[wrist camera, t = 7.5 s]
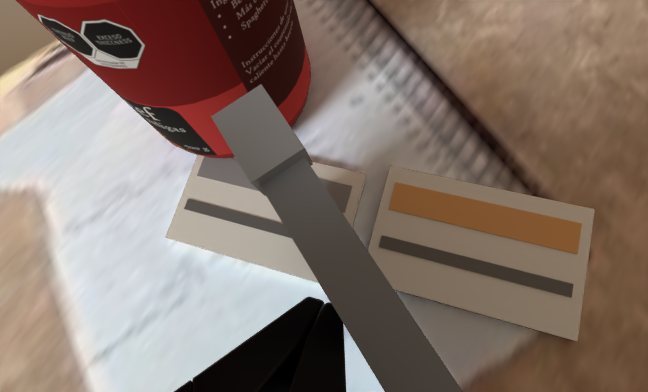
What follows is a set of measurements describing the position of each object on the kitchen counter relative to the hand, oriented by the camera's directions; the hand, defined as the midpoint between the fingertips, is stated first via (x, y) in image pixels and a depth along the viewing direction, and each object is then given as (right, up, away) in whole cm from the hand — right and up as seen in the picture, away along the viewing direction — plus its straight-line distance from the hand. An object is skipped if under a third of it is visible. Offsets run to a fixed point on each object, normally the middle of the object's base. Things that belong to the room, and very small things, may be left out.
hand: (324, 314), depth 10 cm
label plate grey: (-3, +2, +8) cm, 9 cm away
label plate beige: (+6, +1, +7) cm, 9 cm away
